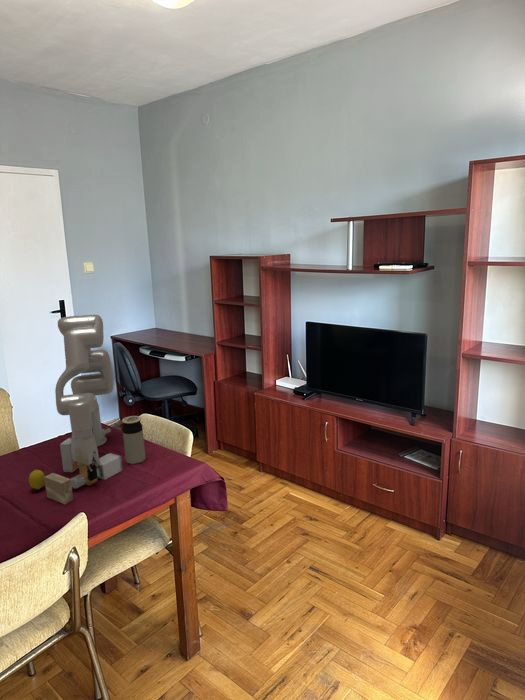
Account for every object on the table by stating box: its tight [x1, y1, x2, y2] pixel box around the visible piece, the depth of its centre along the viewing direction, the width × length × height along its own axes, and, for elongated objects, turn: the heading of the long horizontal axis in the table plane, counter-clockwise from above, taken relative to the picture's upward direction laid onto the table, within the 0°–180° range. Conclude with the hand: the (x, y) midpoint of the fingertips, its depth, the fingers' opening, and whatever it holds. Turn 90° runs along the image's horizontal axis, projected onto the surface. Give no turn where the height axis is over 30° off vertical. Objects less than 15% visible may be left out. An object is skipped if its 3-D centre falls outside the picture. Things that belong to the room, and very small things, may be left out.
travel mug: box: [121, 415, 146, 465], centre depth 203 cm, size 8×8×18 cm
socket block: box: [44, 472, 74, 505], centre depth 176 cm, size 4×10×8 cm, turn 57°
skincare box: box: [59, 437, 79, 473], centre depth 199 cm, size 6×4×12 cm
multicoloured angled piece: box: [69, 460, 102, 489], centre depth 189 cm, size 19×4×9 cm, turn 147°
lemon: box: [28, 469, 46, 490], centre depth 184 cm, size 6×6×8 cm
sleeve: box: [97, 452, 124, 481], centre depth 194 cm, size 9×6×6 cm
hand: (88, 477), depth 187 cm, fingers open, 4 cm apart
